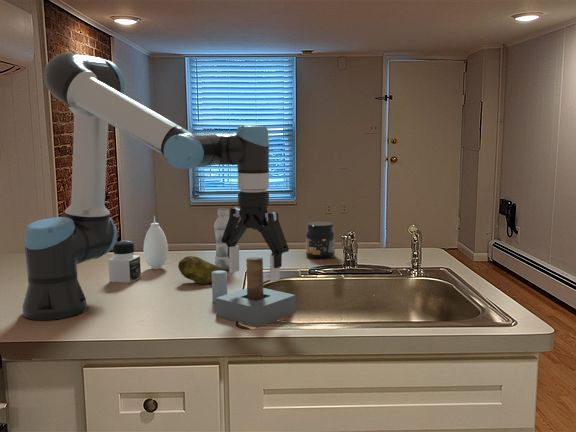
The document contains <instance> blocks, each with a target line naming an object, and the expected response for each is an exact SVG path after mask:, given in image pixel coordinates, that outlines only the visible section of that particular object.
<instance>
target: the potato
mask: <svg viewBox="0 0 576 432" xmlns="http://www.w3.org/2000/svg"><path fill="white" fill-rule="evenodd" d="M177 266H178V270H179V272H180V273H181V274H180V275H182V276H183V277H184V278H186V279H188V280H191V281H193V282H194V283H197V284H201V285H205V284H212V272H213V271H224V270H222V269H221V268H220V267H218V266H216V265H215V263H214V264H213V263H211V262H208V261H206V260H205V259H202V258H200V257H199V256H193V255H188V256H185V257H184V258H182V259H181V260H179V262H178V265H177Z"/></svg>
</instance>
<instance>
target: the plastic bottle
mask: <svg viewBox="0 0 576 432" xmlns="http://www.w3.org/2000/svg"><path fill="white" fill-rule="evenodd" d="M229 217H230V209H229V208H218V209H217V218H216V220H215V221H214V224H213V229H214V236H215V247H216V248H215V259H214V265H216V266H218V267H220V268H221V269H222V270H223V271H228V270H229V271H230V264H229V258H228V246H227V244H225V243H222V241H221V240H222V237H223V234H224V231H225V228H226V226H227V223H228V220H229Z"/></svg>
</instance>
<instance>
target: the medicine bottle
mask: <svg viewBox="0 0 576 432" xmlns="http://www.w3.org/2000/svg"><path fill="white" fill-rule="evenodd" d="M112 249H113V256H114V257H111V258H109V259H108V260H107V263H108V279H109V283H120V284H121V283H122V284H123V283H124V284H131V283H133V282H135V281H137V280H139V279H140V278H141V277H142V276H141V275H142V274H141V273H142V272H141V270H142V269H141V256H140V255H138V254H137V255H135V243H134V242H133V241H130V240H120V241H116V243H115V245H114V247H113V248H112Z"/></svg>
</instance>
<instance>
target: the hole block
mask: <svg viewBox="0 0 576 432" xmlns="http://www.w3.org/2000/svg"><path fill="white" fill-rule="evenodd" d="M215 299H216V303H215V316H216V317H220V318H223V319H228V320H230V321H235V322H237V323H242V324H246V325H250V326H252V327H255V328H259V327H261V326H264V325H266V324H270V323H271V322H274V321H277V320H279V319H280V320H281V319H282V318H284V317H287V316H290V315H292V314H295V313H296V311H297V310H296V308H297V307H296V303H297V302H296V294H292V293H288V292H284V291H279V290H274V289H270V288H266V287H263V299H260V300H257V301H255V300H250V299H247V287H246V288H243V289H240V290H236V291H233V292H230V293H227V294H226V295H223V296H220V297H217V298H215Z"/></svg>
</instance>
